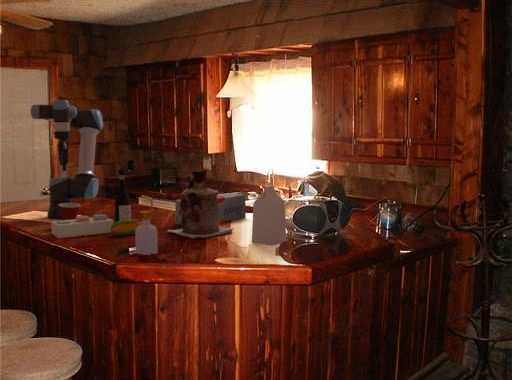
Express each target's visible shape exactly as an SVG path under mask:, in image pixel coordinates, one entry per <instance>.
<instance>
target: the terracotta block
mask: <svg viewBox="0 0 512 380" xmlns="http://www.w3.org/2000/svg"><path fill="white" fill-rule="evenodd" d="M89 218H90V216H88V215H78V216H77V217H76V222H85V221H89Z"/></svg>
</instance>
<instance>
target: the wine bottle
mask: <svg viewBox="0 0 512 380" xmlns="http://www.w3.org/2000/svg"><path fill="white" fill-rule="evenodd" d="M125 173H126V170H125V169H123V168H121V169H120V168H119V169H118V182H119V183H118V184H119V186H118V187H119V188H118V192H117V194H116V197H115V201H114V221H115V222H114V223H116V222H118V221H123V220H129V219H132V216H131V215H132V213H131V212H132V211H131V208H132V206H131V200H130V197H129V195H128V193H127V190H126V186H125V185H126V184H125V183H126V182H125ZM129 222H132V221H129Z"/></svg>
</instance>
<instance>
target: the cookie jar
mask: <svg viewBox="0 0 512 380" xmlns="http://www.w3.org/2000/svg"><path fill="white" fill-rule="evenodd" d="M207 172H208V169H206V168H205V169H203V170H194V171H192V172H191V173H190V174H188V175H186V177H185V178H186V179H185V180H186V183H187V184H189V185H188V186H187V187H188V188H186V189H184V190H183V192H181V194H180V199H181V201H180V209H181V216H182V220H181V225H180V227H181V228H180V229H179V228H178V229H174V230H173V229H168V230H166V232H167V233H174V234H176V235H179V236H182V237H186V238H190V239H196V238H202V239H203V238H204V239H206V238H210V237H215V236H220V235H224V234H232V233H233V231H234V228H228V227H227V228H226V227H220V226H219V223H220V222H219V208H218V203H217V195H218V194H219V191H218V190H216V189H212V188H209V186H208V185H206V183H207V181H208V177H207V175H208V173H207Z"/></svg>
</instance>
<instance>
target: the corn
mask: <svg viewBox="0 0 512 380" xmlns="http://www.w3.org/2000/svg"><path fill="white" fill-rule="evenodd" d="M129 221H131V222H129ZM141 224H142V221H138V219H132V218H131V219H129V220H123V221H118V222H116V223H115V222H114V224H113V225H112V226H111V233H112V234H114V235H116V236H131V235H135V230H136V228H137V227H138V226H140V225H141Z"/></svg>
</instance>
